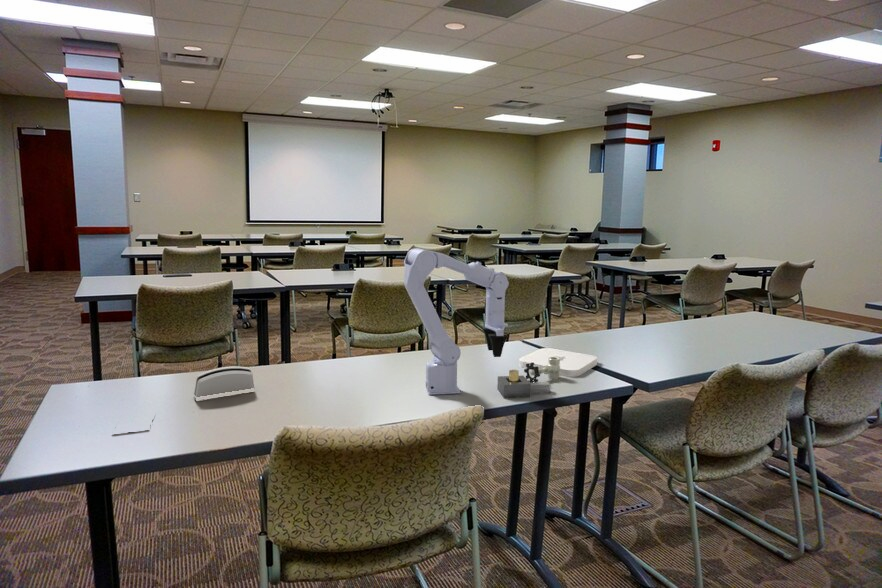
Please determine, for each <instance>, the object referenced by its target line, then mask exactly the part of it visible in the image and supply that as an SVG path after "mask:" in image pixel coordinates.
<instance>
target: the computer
mask: <svg viewBox="0 0 882 588" xmlns="http://www.w3.org/2000/svg"><path fill="white" fill-rule="evenodd" d="M549 357H558V358H559V359H560V364H559V365H560V372H559V376H561V375H562V376H563V377H566V378H567V377H568V378H576V377H579V376H581V375H583V374H584V373H586V372H588V371H589V370H591V369H592V368H594V367H596V366H598V365H597V364H598V357H597V356H595V355H592V354H587V353H579V352H575V351H568V350H563V349H562V350H561V349H556V348H551V347H550V348H549V347H542V348H539V349H537V350H535V351H533V352H531V353H528V354H527V355H524V356H522V357H519V359H518V360H519V361H518V366H519V367H520V368H522V369H527V367H526V364H530V363H534V364H535V365H533V366H534V367H538V368H543V366H544V365H548V364H549V363H548V358H549ZM529 366H530V365H529ZM531 370H532V369H530V371H531Z"/></svg>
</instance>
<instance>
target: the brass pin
mask: <svg viewBox="0 0 882 588" xmlns="http://www.w3.org/2000/svg"><path fill="white" fill-rule="evenodd" d="M519 371H520V370H518V369H509V370H508V372H509V373H508V376H509V383H510V382H518V378H519V376H520V375H519V374H520V372H519Z"/></svg>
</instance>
